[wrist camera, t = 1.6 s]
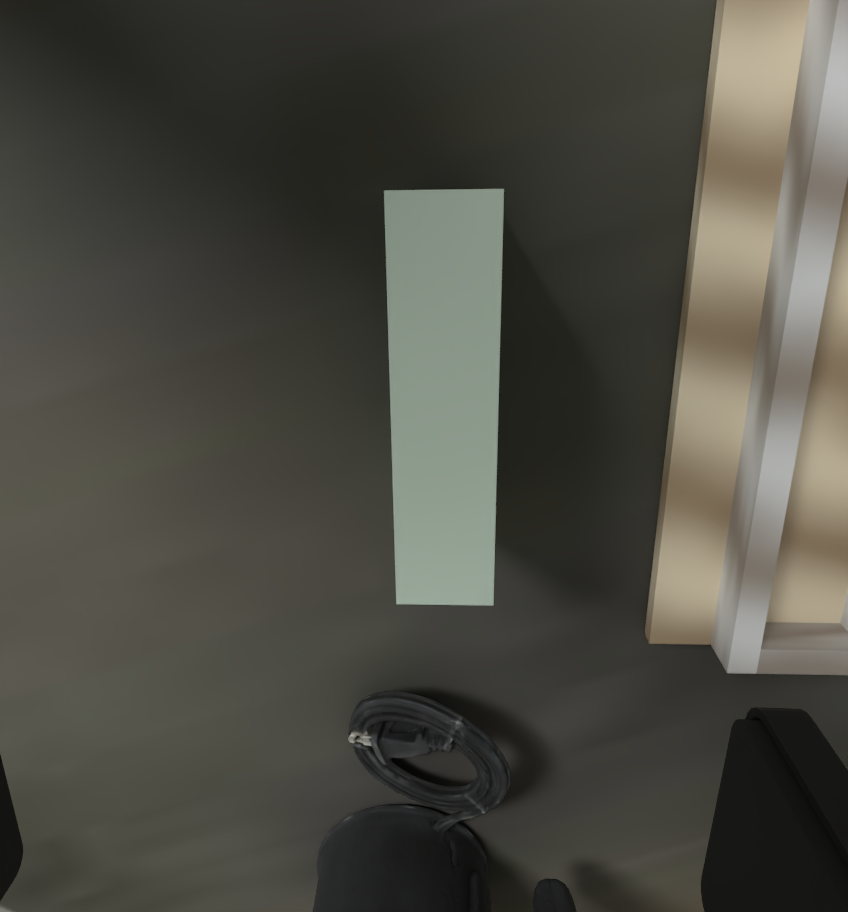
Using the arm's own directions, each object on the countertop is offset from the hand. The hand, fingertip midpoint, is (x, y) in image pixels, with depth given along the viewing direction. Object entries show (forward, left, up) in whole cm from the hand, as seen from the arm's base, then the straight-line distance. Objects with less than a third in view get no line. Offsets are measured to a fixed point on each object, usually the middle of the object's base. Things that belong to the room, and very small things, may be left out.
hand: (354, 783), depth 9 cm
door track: (-1, +16, -21) cm, 26 cm away
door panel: (-1, +1, -21) cm, 21 cm away
